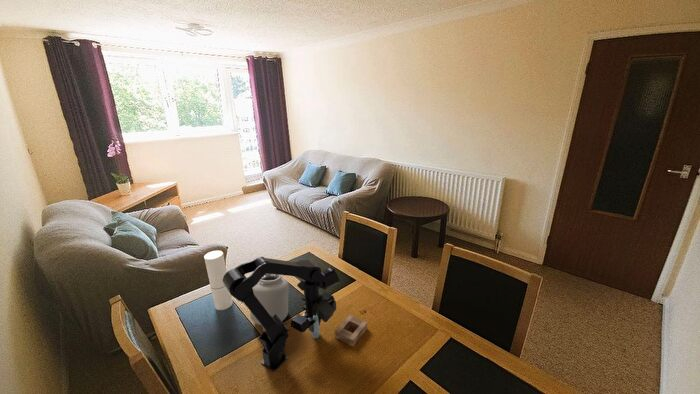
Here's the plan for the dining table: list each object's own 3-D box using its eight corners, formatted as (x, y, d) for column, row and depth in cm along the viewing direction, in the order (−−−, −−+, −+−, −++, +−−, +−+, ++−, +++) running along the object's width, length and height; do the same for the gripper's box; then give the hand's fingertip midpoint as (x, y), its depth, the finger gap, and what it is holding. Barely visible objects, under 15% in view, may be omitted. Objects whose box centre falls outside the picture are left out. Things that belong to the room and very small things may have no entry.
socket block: (353, 346, 101) (353, 340, 100) (335, 337, 105) (334, 331, 105) (367, 328, 109) (367, 322, 108) (349, 320, 113) (349, 314, 112)
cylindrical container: (235, 299, 128) (226, 250, 120) (227, 310, 121) (217, 259, 113) (220, 298, 129) (210, 250, 120) (211, 309, 122) (200, 259, 114)
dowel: (316, 339, 105) (314, 320, 102) (310, 336, 106) (308, 317, 104) (321, 334, 107) (319, 315, 104) (315, 331, 109) (313, 312, 106)
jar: (270, 297, 128) (263, 249, 120) (299, 303, 124) (294, 253, 116) (244, 328, 111) (234, 273, 103) (276, 336, 107) (268, 280, 99)
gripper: (312, 319, 89) (315, 356, 94) (345, 287, 104) (346, 321, 109) (287, 306, 95) (291, 342, 100) (321, 278, 110) (324, 311, 115)
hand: (315, 328), depth 106 cm, fingers closed on dowel, 3 cm apart
